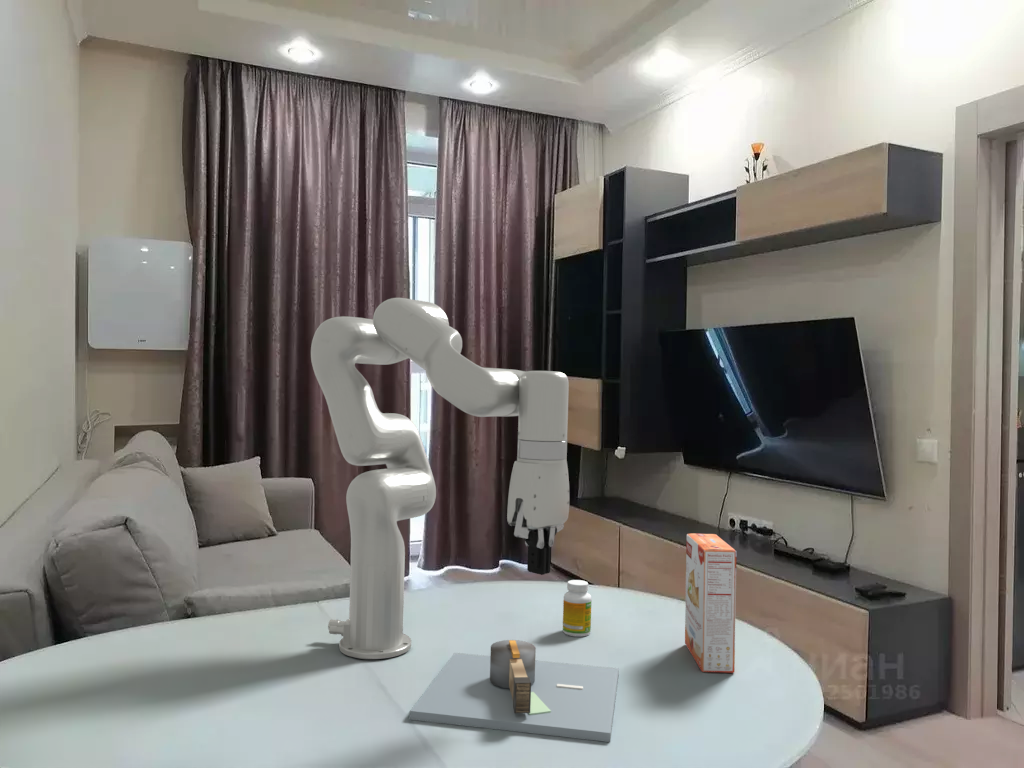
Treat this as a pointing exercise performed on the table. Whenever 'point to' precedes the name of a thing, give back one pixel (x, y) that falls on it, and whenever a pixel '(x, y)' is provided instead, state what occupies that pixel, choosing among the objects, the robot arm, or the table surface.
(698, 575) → the cracker box
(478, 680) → the board
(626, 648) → the table surface
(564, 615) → the supplement bottle
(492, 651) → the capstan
